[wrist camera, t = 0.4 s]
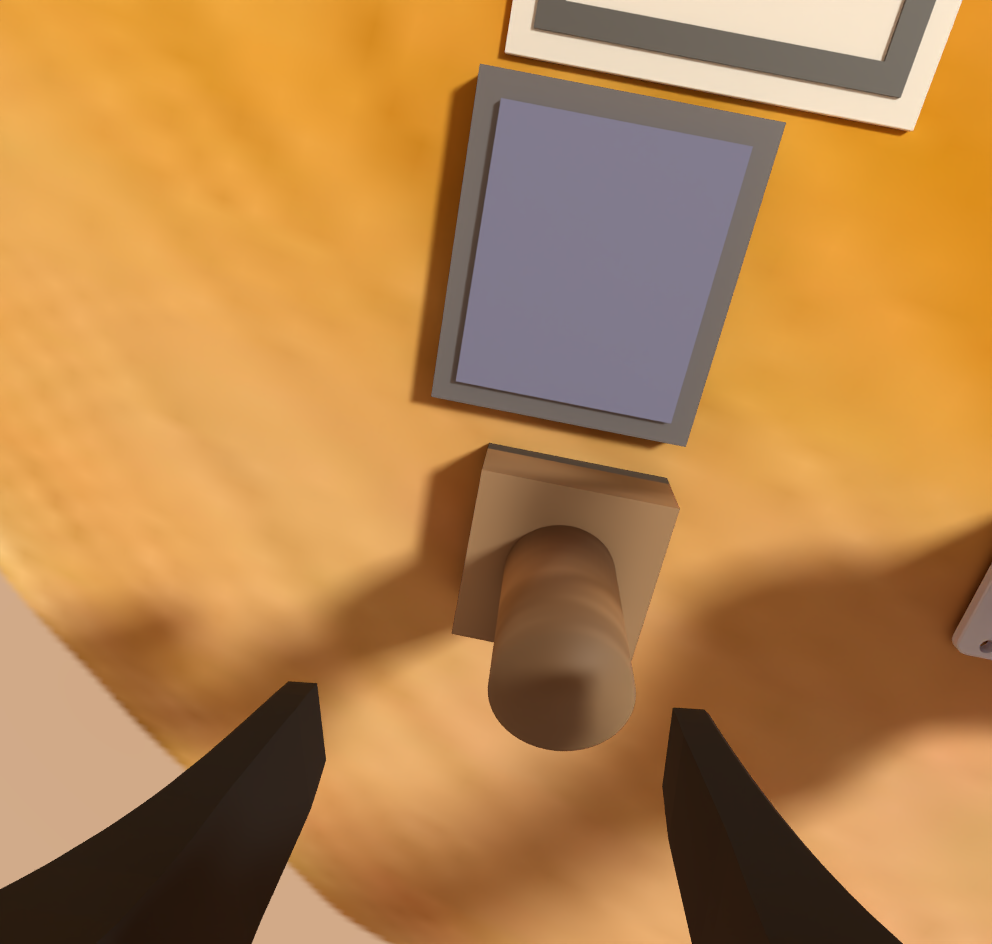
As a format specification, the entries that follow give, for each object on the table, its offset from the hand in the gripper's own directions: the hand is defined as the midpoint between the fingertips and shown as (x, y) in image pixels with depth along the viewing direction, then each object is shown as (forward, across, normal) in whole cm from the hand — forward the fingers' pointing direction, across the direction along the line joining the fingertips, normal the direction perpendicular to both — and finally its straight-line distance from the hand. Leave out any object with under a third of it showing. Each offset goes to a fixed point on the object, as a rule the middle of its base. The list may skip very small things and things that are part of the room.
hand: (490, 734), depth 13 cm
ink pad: (+10, -2, -8) cm, 13 cm away
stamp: (+10, -1, +1) cm, 10 cm away
